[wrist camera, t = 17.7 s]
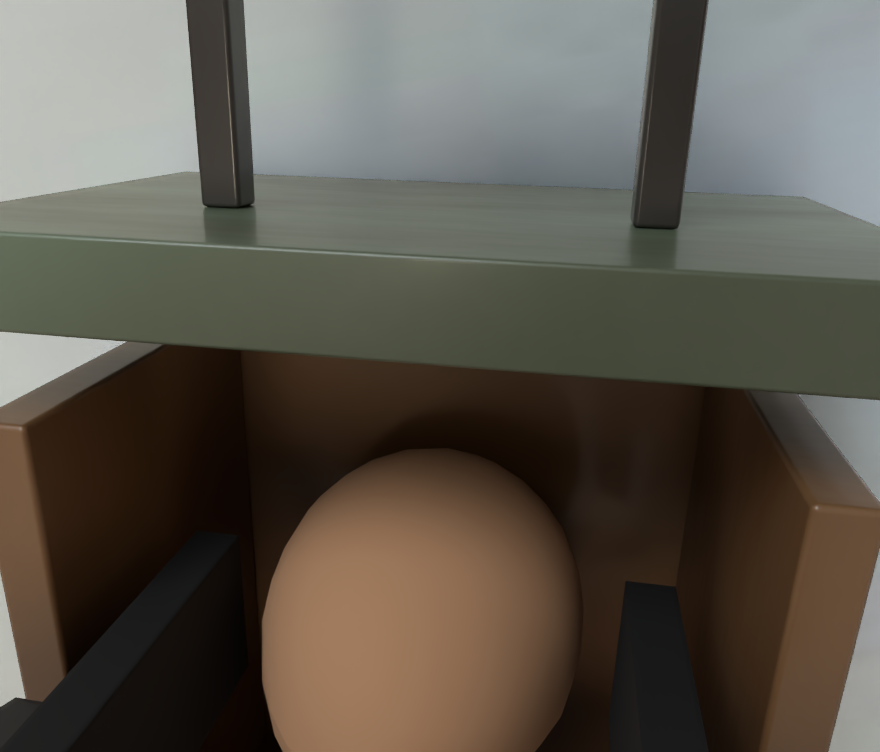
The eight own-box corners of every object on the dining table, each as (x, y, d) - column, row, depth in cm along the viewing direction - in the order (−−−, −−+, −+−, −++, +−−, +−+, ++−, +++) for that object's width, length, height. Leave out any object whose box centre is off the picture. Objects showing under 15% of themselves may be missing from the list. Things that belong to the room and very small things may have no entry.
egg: (526, 650, 17) (485, 988, 11) (308, 556, 18) (142, 835, 11) (630, 459, 15) (655, 743, 9) (379, 354, 15) (224, 556, 9)
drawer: (156, -152, 14) (-290, -427, 7) (873, -172, 12) (1302, -579, 5) (231, 714, 21) (48, 1036, 14) (698, 786, 19) (772, 1204, 12)
